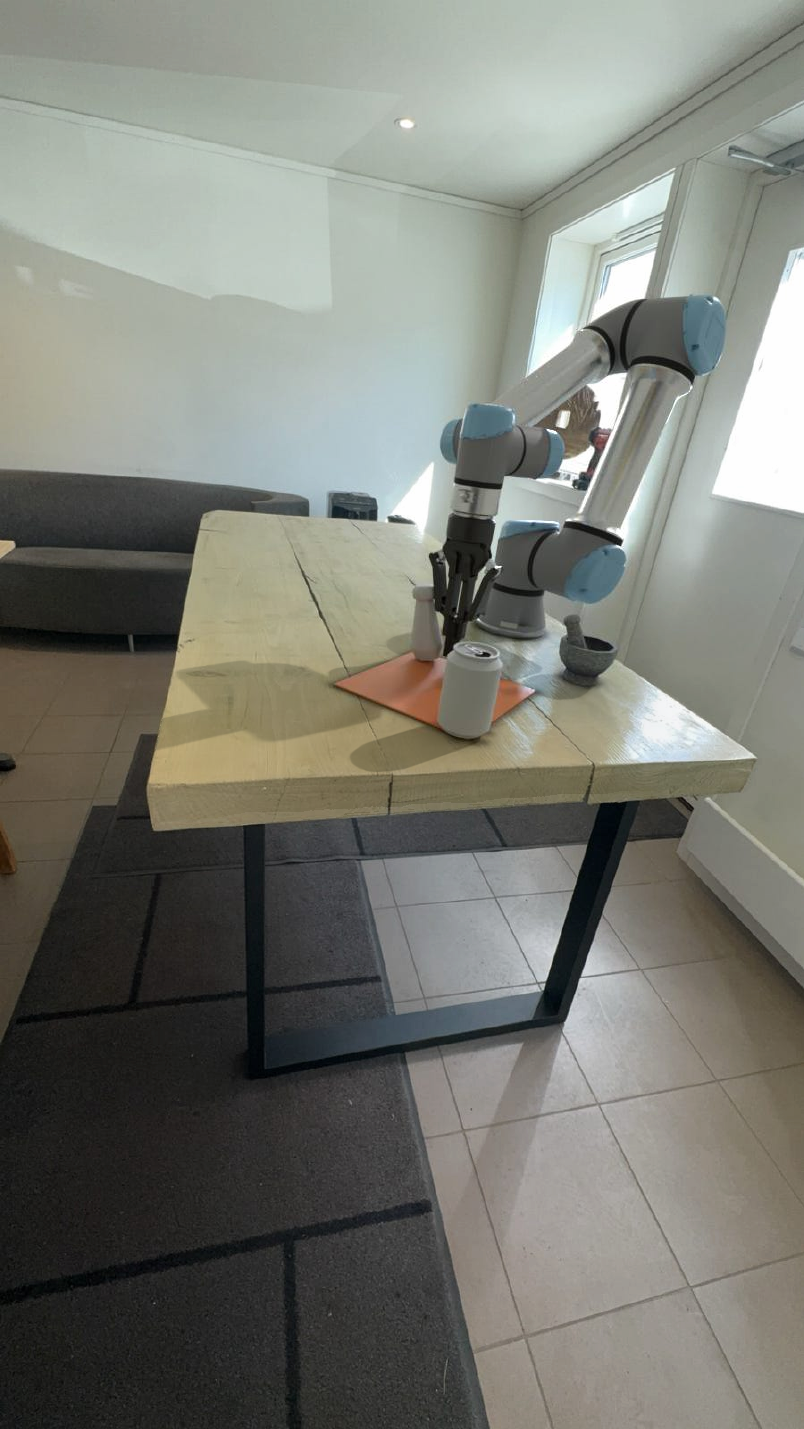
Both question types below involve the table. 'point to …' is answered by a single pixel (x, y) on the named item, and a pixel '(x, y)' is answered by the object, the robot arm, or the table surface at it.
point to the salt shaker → (425, 625)
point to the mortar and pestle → (584, 654)
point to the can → (469, 689)
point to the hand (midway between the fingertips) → (450, 655)
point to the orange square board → (420, 688)
